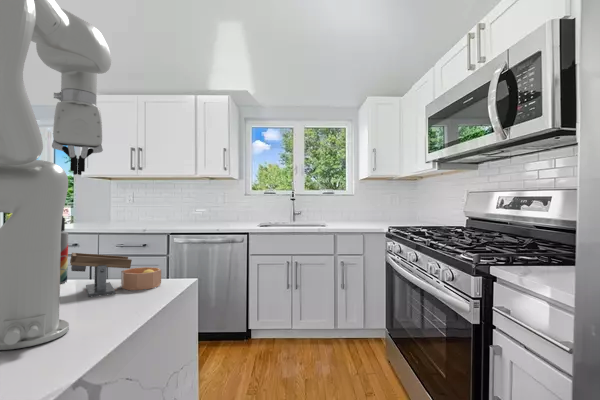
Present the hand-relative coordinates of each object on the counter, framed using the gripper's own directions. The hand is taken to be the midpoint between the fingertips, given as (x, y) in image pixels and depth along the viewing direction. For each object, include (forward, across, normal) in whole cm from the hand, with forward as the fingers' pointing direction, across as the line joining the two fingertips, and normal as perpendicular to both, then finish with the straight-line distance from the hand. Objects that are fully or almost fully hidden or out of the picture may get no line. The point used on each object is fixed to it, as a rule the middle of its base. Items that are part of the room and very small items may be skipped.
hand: (77, 174), depth 87 cm
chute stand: (+31, +6, +7) cm, 32 cm away
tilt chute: (+26, +6, +11) cm, 29 cm away
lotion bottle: (+31, -4, +24) cm, 40 cm away
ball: (+28, +18, +7) cm, 35 cm away
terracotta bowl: (+31, +16, +7) cm, 36 cm away
